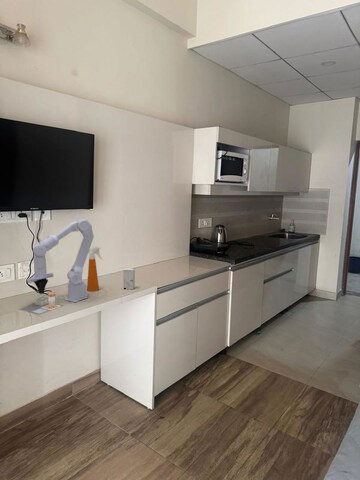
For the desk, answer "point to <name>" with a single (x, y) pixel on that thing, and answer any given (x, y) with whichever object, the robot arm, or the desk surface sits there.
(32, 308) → the picture sheet
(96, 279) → the spray bottle
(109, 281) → the desk surface
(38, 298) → the button
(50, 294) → the cylinder
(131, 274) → the skincare box
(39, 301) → the button housing
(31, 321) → the desk surface
